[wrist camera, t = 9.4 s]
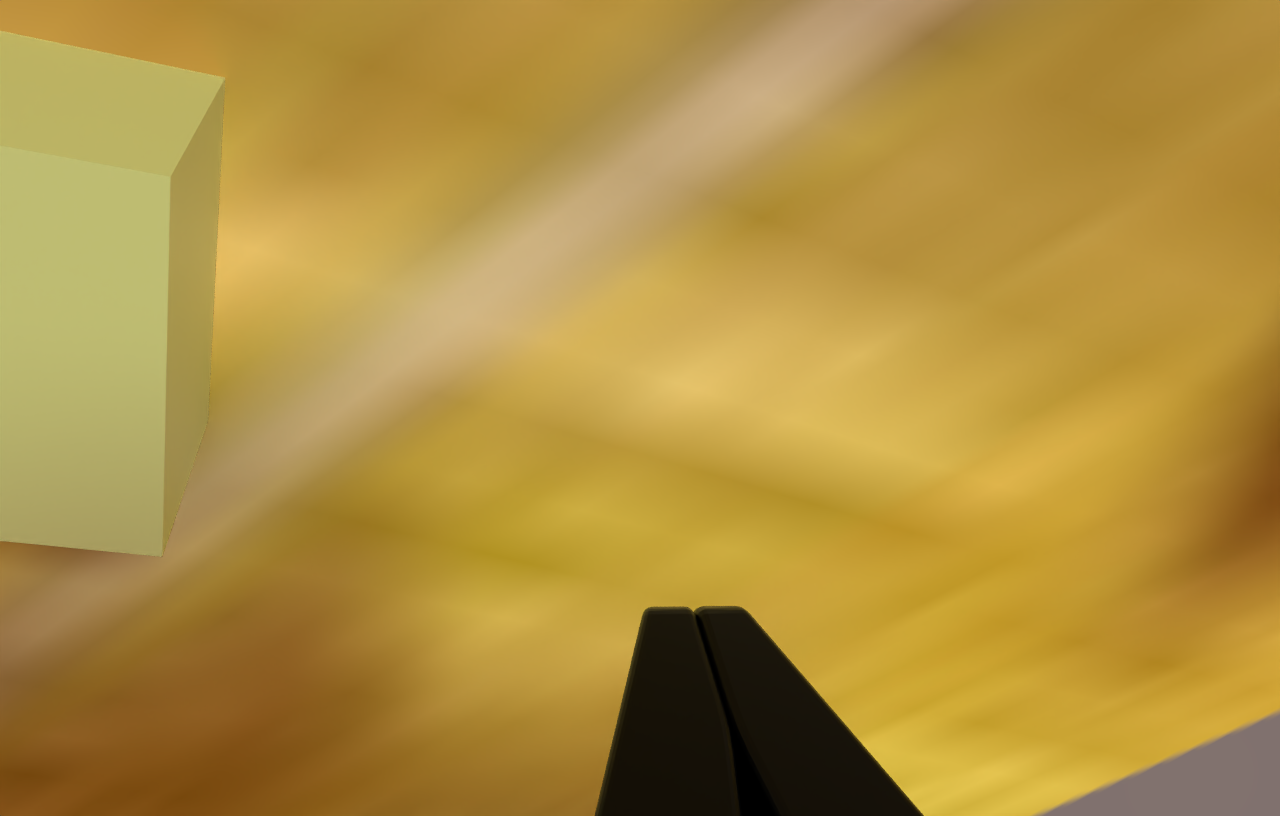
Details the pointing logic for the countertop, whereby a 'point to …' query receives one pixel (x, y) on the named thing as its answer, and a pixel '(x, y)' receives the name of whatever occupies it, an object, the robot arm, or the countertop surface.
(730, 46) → the countertop surface
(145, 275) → the chock
